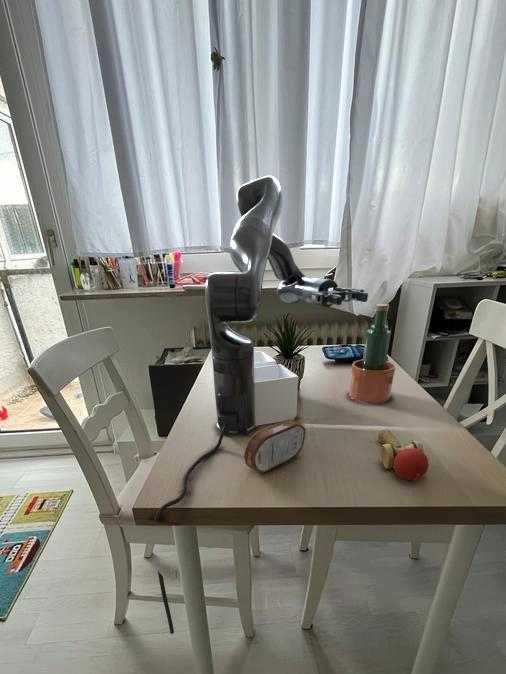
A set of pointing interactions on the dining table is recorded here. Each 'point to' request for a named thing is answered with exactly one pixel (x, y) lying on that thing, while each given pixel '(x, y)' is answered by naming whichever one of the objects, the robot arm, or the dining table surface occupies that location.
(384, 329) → the bottle
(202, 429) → the dining table surface
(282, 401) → the storage container
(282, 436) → the tin
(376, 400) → the plant pot
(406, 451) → the kendama
